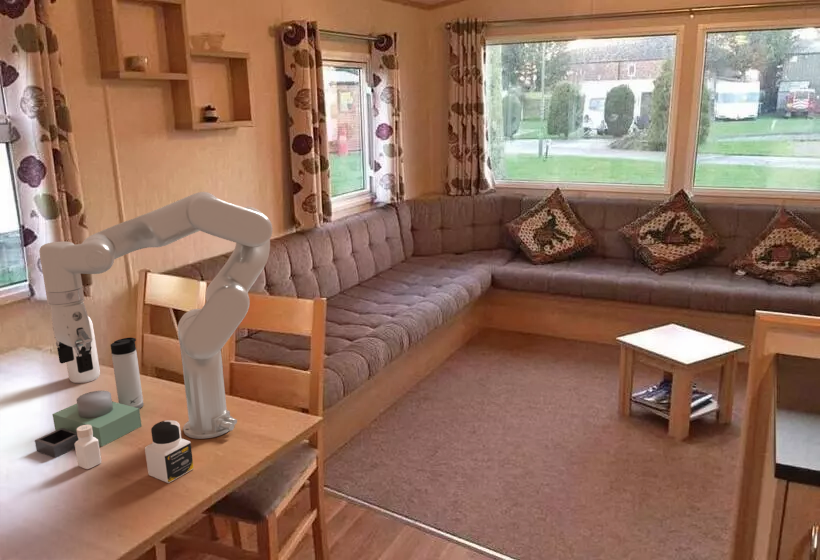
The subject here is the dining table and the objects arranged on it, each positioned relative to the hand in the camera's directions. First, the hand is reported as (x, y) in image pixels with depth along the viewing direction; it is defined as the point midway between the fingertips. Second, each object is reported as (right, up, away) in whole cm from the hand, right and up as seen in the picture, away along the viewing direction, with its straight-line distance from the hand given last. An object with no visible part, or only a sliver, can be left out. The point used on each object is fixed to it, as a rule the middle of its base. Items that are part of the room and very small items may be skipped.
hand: (76, 366), depth 154 cm
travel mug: (+1, -15, +29) cm, 33 cm away
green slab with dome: (-3, -19, +17) cm, 25 cm away
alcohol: (-23, -11, +50) cm, 56 cm away
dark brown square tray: (-8, -21, +7) cm, 24 cm away
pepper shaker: (+4, -23, -1) cm, 23 cm away
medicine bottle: (+24, -24, -5) cm, 34 cm away
